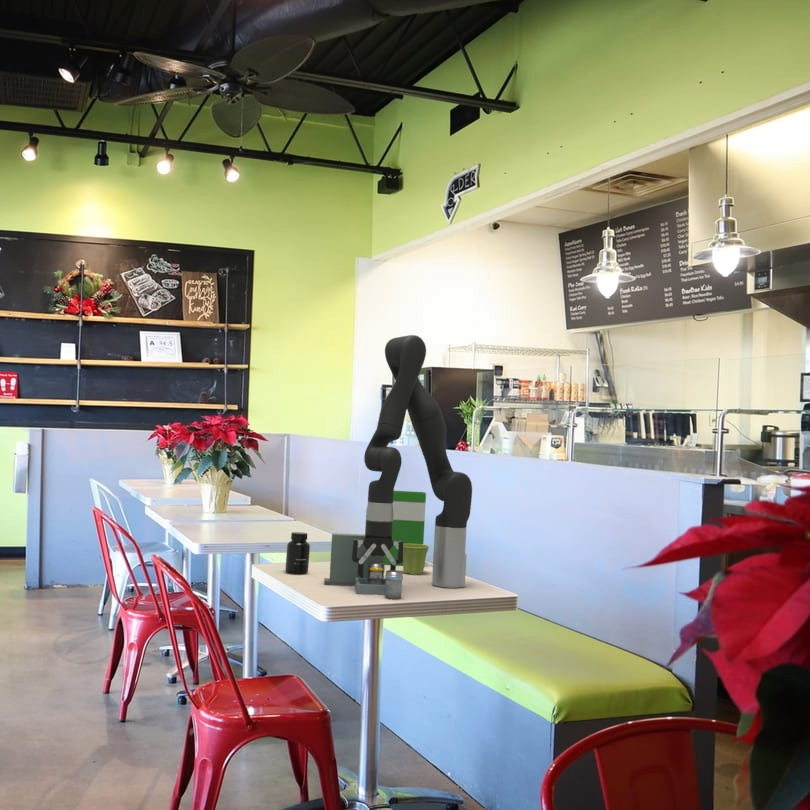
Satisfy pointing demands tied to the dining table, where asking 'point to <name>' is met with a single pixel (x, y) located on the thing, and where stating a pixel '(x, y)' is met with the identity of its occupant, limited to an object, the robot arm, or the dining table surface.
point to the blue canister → (393, 584)
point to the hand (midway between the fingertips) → (376, 578)
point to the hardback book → (407, 520)
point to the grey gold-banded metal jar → (376, 573)
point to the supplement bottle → (297, 554)
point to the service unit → (347, 560)
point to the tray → (368, 587)
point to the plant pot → (414, 558)
